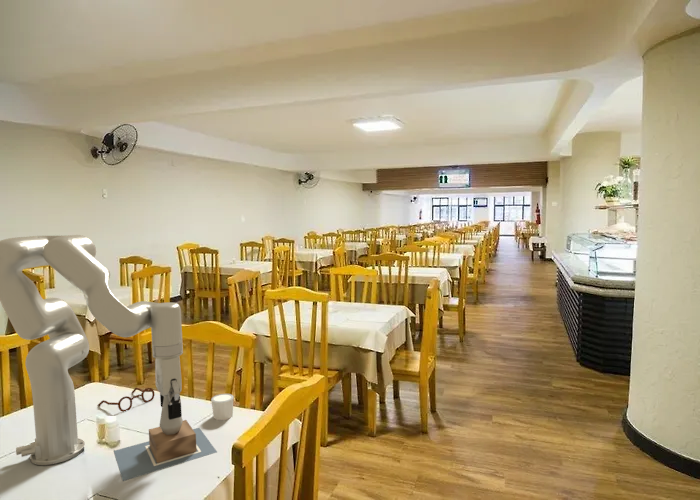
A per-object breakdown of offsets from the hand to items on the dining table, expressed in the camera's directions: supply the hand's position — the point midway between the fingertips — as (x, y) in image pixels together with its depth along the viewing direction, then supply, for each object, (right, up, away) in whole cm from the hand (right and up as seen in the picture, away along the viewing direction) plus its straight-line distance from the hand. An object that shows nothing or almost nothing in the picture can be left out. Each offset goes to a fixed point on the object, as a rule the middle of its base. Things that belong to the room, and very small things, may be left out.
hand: (170, 411), depth 125 cm
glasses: (-29, -10, +35) cm, 46 cm away
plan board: (-2, -12, 0) cm, 12 cm away
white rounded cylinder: (+8, -10, +21) cm, 25 cm away
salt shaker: (0, -6, +1) cm, 6 cm away
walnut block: (0, -11, +1) cm, 11 cm away
